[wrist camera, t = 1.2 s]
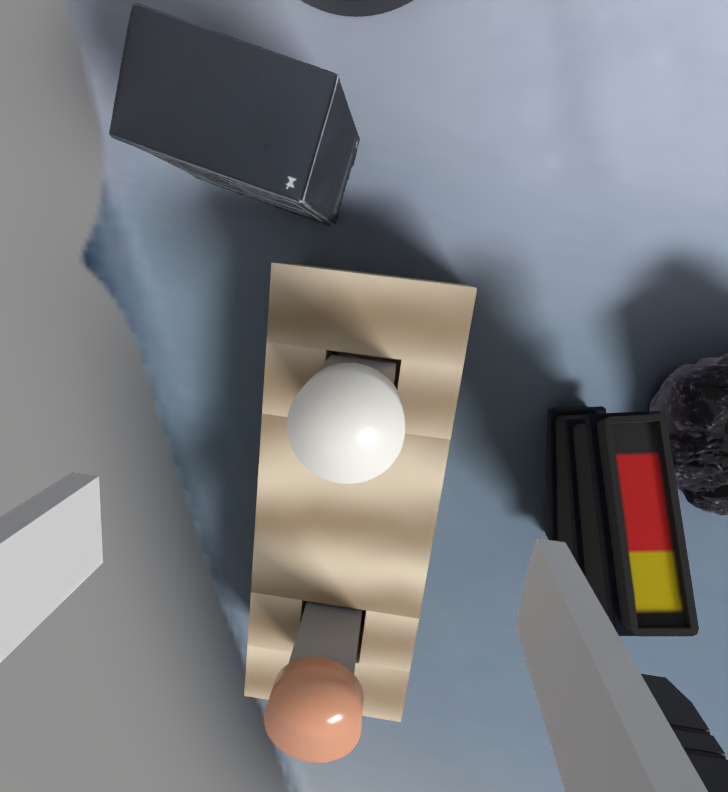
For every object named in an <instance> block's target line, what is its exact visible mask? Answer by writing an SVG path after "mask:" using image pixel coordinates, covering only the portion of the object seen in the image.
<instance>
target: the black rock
mask: <svg viewBox="0 0 728 792" xmlns="http://www.w3.org/2000/svg"><path fill="white" fill-rule="evenodd" d="M649 411H660V414H661V415H663V416H664V417H665V418H666V420H667V425H668V432H669V438H670V445H671V451H672V458H673V464H674V471H675V477H676V484H677V488H678V489H680V490H681V491H682V492H683V493H684V495H685V497H686V499H687V501H688V502H689V503H691V504H692V505H694V506H695V507H697V508H699V509H701V510H703V511H706V512H714V513H716V514H719V515H728V353H726V354H724V355H722V356H720V357H710V358H702V359H701V360H699V361H698V362H697V363H696V364H684V365H682V366H680V367H679V368H677V369H676V370H675V371H674V372H672V373H671V374H670V375H669V376H668V377H667V378H666V380H665V381H664V382H663V384H662V385H661V386H660V390H659V391H658V392H657V393H656V394H655V396H654V397H653V398H652V401H651V403H650V406H649Z"/></svg>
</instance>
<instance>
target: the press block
mask: <svg viewBox="0 0 728 792" xmlns="http://www.w3.org/2000/svg"><path fill="white" fill-rule="evenodd" d="M476 292H477V288H476V287H472V286H469V285H465V284H459V283H450V282H442V281H434V280H426V279H418V278H409V277H401V276H393V275H385V274H377V273H368V272H360V271H352V270H344V269H336V268H327V267H319V266H311V265H303V264H290V263H271V277H270V293H269V309H268V326H267V342H266V358H265V374H264V390H263V406H262V422H261V438H260V454H259V470H258V486H257V502H256V518H255V534H254V550H253V566H252V582H251V598H250V614H249V630H248V647H247V663H246V679H245V696H250V697H256V698H261V699H267V700H269V697H270V694H271V691H272V688H273V685H274V682H275V679H276V677H277V675H278V673H279V672H280V671H281V669H282V668H283V667H285V666H286V665H287V664H289V660H290V657H291V653H292V650H293V646H294V643H295V640H296V636H297V633H298V630H299V626H300V623H301V619H302V616H303V613H304V609H305V606H306V603H307V602H312V603H318V604H325V605H331V606H337V607H344V608H350V609H356V610H362V616H361V624H360V632H359V640H358V648H357V655H356V663H355V671H354V675H355V676H356V677H357V679H358V680H359V682H360V684H361V686H362V689H363V694H364V703H363V713H362V716H368V717H374V718H380V719H386V720H392V721H397V722H401V718H402V713H403V707H404V701H405V696H406V690H407V684H408V679H409V673H410V667H411V662H412V656H413V650H414V644H415V639H416V633H417V627H418V622H419V616H420V610H421V605H422V599H423V593H424V588H425V582H426V576H427V571H428V565H429V559H430V554H431V548H432V542H433V536H434V531H435V525H436V519H437V514H438V508H439V502H440V497H441V491H442V485H443V480H444V474H445V468H446V463H447V457H448V451H449V446H450V440H451V434H452V428H453V423H454V417H455V411H456V406H457V400H458V394H459V389H460V383H461V377H462V372H463V366H464V360H465V355H466V349H467V343H468V338H469V332H470V326H471V320H472V315H473V309H474V303H475V298H476ZM331 355H339V356H346V357H354V358H361V359H369V360H377V361H384V362H392V363H396V369H395V380H394V386H395V387H396V389H397V390H398V392H399V394H400V396H401V399H402V401H403V405H404V410H405V436H404V441H403V445H402V448H401V451H400V453H399V455H398V457H397V458H396V460H395V461H394V462H393V464H392V465H391V466H390V467H389V468H388V469H387V470H386V471H384V472H383V473H382V474H380V475H379V476H377V477H375V478H373V479H371V480H368V481H365V482H361V483H355V484H342V483H336V482H331V481H328V480H325V479H323V478H321V477H319V476H317V475H315V474H314V473H312V472H311V471H310V470H308V469H307V468H306V467H305V466H304V465H303V464H302V463H301V462H300V461H299V459H298V458H297V457H296V455H295V453H294V451H293V450H292V447H291V445H290V442H289V438H288V433H287V418H288V412H289V409H290V406H291V404H292V402H293V400H294V398H295V396H296V395H297V393H298V392H299V391H300V390H301V389H302V388H303V386H304V385H305V384H306V383H307V382H308V381H309V379H310V378H311V377H313V376H314V375H315V373H316V372H317V371H318V370H319V368H320V367H321V366H322V365H323V364H324V363H325V361H326V360H327V359H328V358H329V357H330V356H331Z"/></svg>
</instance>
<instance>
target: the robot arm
mask: <svg viewBox="0 0 728 792" xmlns="http://www.w3.org/2000/svg"><path fill="white" fill-rule="evenodd" d="M302 1H304V2H305V3H307V4H309V5H311V6H313V7H315V8H317V9H320V10H322V11H325V12H329V13H332V14H337V15H343V16H355V17H357V16H370V15H376V14H381V13H385V12H388V11H391V10H394V9H396V8H399V7H401V6H403V5H405V4H407V3H409V2H411V1H413V0H302ZM102 563H103V554H102V534H101V511H100V490H99V476H93V475H86V474H80V473H73V472H72V473H71V474H69V475H67V476H66V477H64V478H63V479H61V480H59V481H58V482H56V483H54V484H53V485H51V486H49V487H48V488H46V489H45V490H43V491H42V492H40V493H38V494H37V495H35V496H33V497H32V498H30V499H29V500H27V501H25V502H24V503H22V504H20V505H19V506H17V507H16V508H14V509H12V510H11V511H9V512H7V513H6V514H4V515H3V516H1V517H0V663H1V662H2V661H3V660H4V659H5V658H6V657H7V656H8V655H9V654H10V652H12V651H13V650H14V649H15V648H16V647H17V646H18V645H19V644H20V643H21V642H22V641H23V640H24V639H25V638H26V637H27V636H28V635H29V634H30V633H31V632H32V631H33V630H34V629H35V628H36V627H37V626H38V625H39V624H40V623H41V622H42V621H44V619H45V618H46V617H48V616H49V615H50V614H51V613H52V612H53V611H54V610H55V609H56V608H57V607H58V606H59V605H60V604H61V603H62V602H63V601H64V600H65V599H66V598H67V597H68V596H69V595H70V594H71V593H72V592H73V591H74V590H75V589H76V588H77V587H78V586H79V585H80V584H81V583H82V582H83V581H84V580H85V579H86V578H87V577H89V576H90V575H91V574H92V572H93V571H95V570H96V569H97V568H98V567H99V566H100V565H101V564H102ZM515 626H516V629H517V633H518V636H519V639H520V643H521V646H522V649H523V653H524V656H525V659H526V662H527V666H528V669H529V672H530V676H531V679H532V682H533V686H534V689H535V692H536V696H537V699H538V702H539V706H540V709H541V712H542V715H543V719H544V722H545V725H546V729H547V732H548V735H549V739H550V742H551V745H552V749H553V752H554V755H555V759H556V762H557V765H558V769H559V772H560V775H561V778H562V782H563V785H564V788H565V792H728V760H726V758H725V753H724V751H723V750H722V748H721V747H720V745H719V744H718V742H717V741H716V739H715V738H714V736H711V735H710V730H709V728H708V727H707V725H706V724H705V722H704V721H703V719H702V718H701V716H700V715H699V713H698V712H697V710H696V709H695V707H694V705H693V704H692V702H691V701H689V700H688V699H687V698H686V697H685V696H684V695H683V694H682V693H681V692H680V691H679V690H678V689H677V688H676V687H675V686H674V685H673V684H672V683H671V682H670V681H669V680H668V679H667V678H664V677H658V676H652V675H645V674H640V672H639V670H638V668H637V667H636V665H635V663H634V661H633V660H632V658H631V656H630V654H629V653H628V651H627V649H626V647H625V646H624V644H623V642H622V641H621V639H620V637H619V635H618V634H617V632H616V630H615V628H614V627H613V625H612V623H611V621H610V620H609V618H608V616H607V614H606V613H605V611H604V609H603V607H602V606H601V604H600V602H599V600H598V599H597V597H596V595H595V593H594V592H593V590H592V588H591V586H590V585H589V583H588V581H587V579H586V578H585V576H584V574H583V572H582V571H581V569H580V567H579V565H578V564H577V562H576V560H575V558H574V557H573V555H572V553H571V551H570V550H569V548H568V546H567V544H566V543H565V542H559V541H552V540H545V539H538V538H536V539H535V543H534V547H533V552H532V556H531V560H530V564H529V569H528V573H527V577H526V581H525V586H524V590H523V594H522V599H521V603H520V607H519V611H518V616H517V620H516V624H515Z"/></svg>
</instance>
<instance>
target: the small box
mask: <svg viewBox="0 0 728 792" xmlns="http://www.w3.org/2000/svg"><path fill="white" fill-rule="evenodd" d="M109 135H110V136H111V137H112V138H114V139H117V140H119V141H122V142H125V143H127V144H130V145H132V146H135V147H137V148H139V149H141V150H144V151H146V152H148V153H150V154H152V155H154V156H156V157H158V158H160V159H162V160H164V161H166V162H168V163H170V164H172V165H174V166H176V167H178V168H180V169H182V170H184V171H186V172H188V173H189V174H191V175H193V176H194V177H196V178H198V179H201V180H204V181H207V182H209V183H212V184H214V185H217V186H220V187H223V188H226V189H229V190H232V191H234V192H237V193H239V194H241V195H246V196H248V197H251V198H253V199H256V200H259V201H262V202H265V203H267V204H270V205H273V206H275V207H277V208H280V209H283V210H287V211H290V212H292V213H294V214H297V215H301V216H304V217H307V218H310V219H313V220H316V221H319V222H322V223H325V224H327V225H330V226H332V225H334V224H335V223H336V219H337V217H338V210H339V207H340V205H341V200H342V198H343V193H344V191H345V186H346V183H347V180H348V179H349V174H350V171H351V167H352V166H353V165H354V161H355V156H356V152H357V147H358V144H359V136H358V133H357V130H356V127H355V125H354V121H353V119H352V116H351V113H350V110H349V107H348V104H347V101H346V98H345V95H344V92H343V89H342V87H341V84H340V79H339V76H338V75H337V74H335V73H333V72H330V71H327V70H324V69H321V68H319V67H316V66H313V65H310V64H307V63H304V62H301V61H298V60H295V59H292V58H289V57H286V56H284V55H281V54H278V53H275V52H272V51H269V50H266V49H264V48H261V47H258V46H255V45H252V44H249V43H246V42H243V41H241V40H238V39H235V38H232V37H229V36H227V35H224V34H221V33H218V32H215V31H212V30H210V29H207V28H204V27H201V26H198V25H195V24H193V23H190V22H187V21H184V20H181V19H179V18H176V17H173V16H171V15H168V14H165V13H162V12H160V11H157V10H154V9H151V8H148V7H146V6H143V5H140V4H137V3H135V4H133V6H132V10H131V15H130V19H129V24H128V29H127V35H126V40H125V46H124V51H123V57H122V63H121V68H120V74H119V80H118V85H117V91H116V97H115V103H114V108H113V115H112V120H111V127H110V132H109Z"/></svg>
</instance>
